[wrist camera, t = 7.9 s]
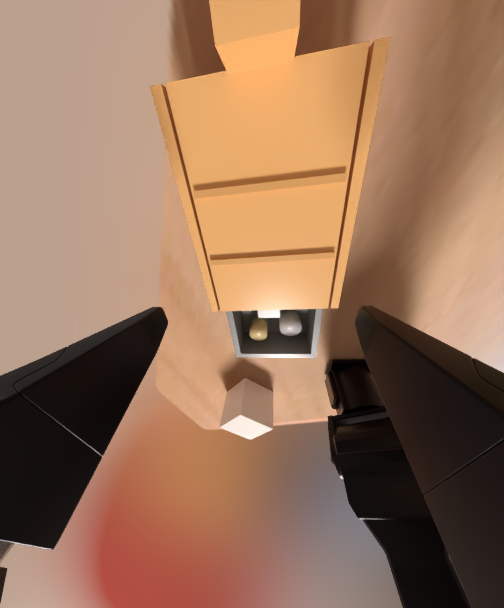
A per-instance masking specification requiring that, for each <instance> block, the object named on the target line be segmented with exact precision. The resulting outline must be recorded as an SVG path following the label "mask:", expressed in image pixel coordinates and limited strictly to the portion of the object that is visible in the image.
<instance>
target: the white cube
mask: <svg viewBox="0 0 504 608" xmlns="http://www.w3.org/2000/svg"><path fill="white" fill-rule="evenodd" d="M220 428H222V429H224V430H227V431H230V432H232V433H234V434H237V435H240V436H242V437H245V438H247V439H253V438H255V437H257V436H259V435H262V434H264V433H266V432H268V431H270V430H272V429H273V391H271V390H269V389H267V388H265V387H263V386H261V385H259V384H257V383H255V382H253V381H251V380H249V379H247V378H244V379H243V380H242V381H240V382H239V383H238V384H237V385H235V386H234V387H233V388H231V389H230V390H229V391H227V394H226V399H225V404H224V409H223V413H222V418H221V423H220Z"/></svg>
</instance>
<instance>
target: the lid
mask: <svg viewBox="0 0 504 608" xmlns="http://www.w3.org/2000/svg"><path fill="white" fill-rule="evenodd" d="M209 4H210V12H211V19H212V27H213V34H214V42H215V47H216V49H217V51H218V54H219V56H220V58H221V60H222V62H223V64H224V67H225V69H226V71H222V72H217V73H212V74H207V75H202V76H197V77H192V78H188V79H183V80H178V81H173V82H168V83H165V86H166V87H164V86H163V85H162V84H158V85H154V86H150V89H151V93H152V96H153V100H154V103H155V107H156V111H157V114H158V118H159V121H160V125H161V129H162V132H163V136H164V139H165V143H166V147H167V150H168V154H169V158H170V161H171V165H172V168H173V172H174V176H175V179H176V183H177V186H178V190H179V194H180V197H181V201H182V204H183V208H184V212H185V215H186V219H187V222H188V226H189V230H190V233H191V237H192V240H193V244H194V248H195V251H196V255H197V258H198V262H199V266H200V269H201V273H202V276H203V280H204V284H205V287H206V291H207V294H208V298H209V302H210V305H211V309H212V312H217V311H219V309H220V310H221V311H254V310H291V309H328V306H330V308H338V307H339V302H340V296H341V291H342V286H343V281H344V276H345V270H346V265H347V260H348V255H349V250H350V245H351V239H352V234H353V229H354V224H355V219H356V213H357V208H358V203H359V198H360V193H361V187H362V182H363V177H364V172H365V167H366V162H367V156H368V151H369V146H370V141H371V136H372V130H373V125H374V120H375V115H376V110H377V104H378V99H379V94H380V89H381V84H382V79H383V73H384V68H385V63H386V58H387V53H388V47H389V42H390V37H387V38H382V39H377V40H374V42H373V43H372V44H371V46H370V47H369V42H370V41H367V42H363V43H358V44H353V45H348V46H343V47H338V48H333V49H329V50H324V51H319V52H314V53H309V54H304V55H299V56H295V50H296V45H297V39H298V33H299V28H300V0H209Z"/></svg>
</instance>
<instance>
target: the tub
mask: <svg viewBox="0 0 504 608" xmlns="http://www.w3.org/2000/svg"><path fill="white" fill-rule="evenodd" d="M322 311H323V309H291V310H254V311H226V313H227V317H228V322H229V326H230V331H231V335H232V340H233V344H234V348H235V353H236V357H257V358H316V355H317V348H318V341H319V333H320V326H321V319H322Z"/></svg>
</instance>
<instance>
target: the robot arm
mask: <svg viewBox="0 0 504 608" xmlns="http://www.w3.org/2000/svg"><path fill="white" fill-rule="evenodd" d="M167 325H168V320H167V317H166V315H165V312H164V310H163V308H161V307H152V308H150V309H147V310H145V311H143V312H141V313H139V314H136V315H134V316H132V317H130V318H128V319H126V320H123V321H121V322H119V323H117V324H115V325H113V326H111V327H108V328H106V329H104V330H102V331H100V332H98V333H95V334H93V335H91V336H89V337H87V338H84V339H82V340H80V341H78V342H76V343H74V344H71V345H69V346H68V347H65V348H63V349H61V350H58V351H56V352H54V353H52V354H50V355H47V356H45V357H43V358H41V359H39V360H36V361H34V362H32V363H29V364H27V365H25V366H22V367H20V368H18V369H15V370H13V371H10V372H8V373H6V374H3V375H1V376H0V563H1V562H2V560H3V559H4V557H5V556H6V555H7V554H8V552H9V551H10V549H11V548H12V547H13V545H14V544H15V543H16V544H22V545H27V546H32V547H38V548H43V549H49V550H53V549H54V547H55V546H56V544H57V543H58V541H59V539H60V537H61V535H62V533H63V532H64V530H65V528H66V526H67V524H68V522H69V520H70V518H71V516H72V514H73V512H74V510H75V509H76V507H77V505H78V503H79V501H80V499H81V497H82V495H83V493H84V491H85V489H86V487H87V485H88V484H89V482H90V480H91V478H92V476H93V474H94V472H95V470H96V468H97V466H98V464H99V462H100V461H101V458H102V456H103V454H104V453H105V451H106V449H107V447H108V445H109V443H110V441H111V439H112V437H113V435H114V433H115V432H116V430H117V428H118V426H119V424H120V422H121V420H122V418H123V416H124V414H125V412H126V410H127V409H128V407H129V404H130V403H131V401H132V399H133V397H134V395H135V393H136V391H137V389H138V387H139V386H140V383H141V382H142V380H143V378H144V376H145V374H146V372H147V370H148V368H149V366H150V364H151V363H152V360H153V359H154V357H155V355H156V353H157V351H158V348H159V346H160V343H161V341H162V338H163V336H164V333H165V331H166V328H167ZM355 327H356V330H357V334H358V337H359V341H360V344H361V347H362V351H363V354H364V357H365V360H332V361H331V364H330V369H329V371H328V372H327V375H326V380H325V383H326V387H327V391H328V395H329V399H330V404H331V407H332V408H333V409H336V411H337V414H338V415H336V416H332V415H331V416H328V430H329V440H330V449H331V450H330V451H331V461H332V463H333V464H334V465H335V466H336V469H337V471H338V474H339V476H340V477H341V479H342V480H343V481H344V483H345V488H346V492H347V497H348V501H349V504H350V505H351V507H352V509H353V511H354V512H355V514H356V516H357V517H358V518H359V519H362V520H363V521H364V523H365V524H366V525H367V527H368V528H369V530H370V531H371V533H372V534H373V535H374V537H375V538H376V540H377V541H378V543H379V544H380V545H381V547H382V548H383V550H384V551H385V553H386V556H387V559H388V561H389V565H390V568H391V571H392V574H393V577H394V580H395V584H396V587H397V590H398V593H399V597H400V600H401V603H402V606H403V608H504V373H503V372H501V371H499V370H497V369H495V368H493V367H491V366H489V365H487V364H485V363H483V362H481V361H479V360H477V359H475V358H472V357H471V356H469V355H467V354H465V353H463V352H461V351H459V350H457V349H455V348H453V347H451V346H449V345H447V344H445V343H443V342H441V341H439V340H438V339H436V338H434V337H432V336H430V335H428V334H426V333H424V332H422V331H420V330H418V329H416V328H414V327H412V326H410V325H408V324H406V323H404V322H402V321H400V320H398V319H396V318H394V317H392V316H390V315H389V314H387V313H385V312H383V311H381V310H379V309H377V308H375V307H373V306H361V307H360V308H359V310H358V314H357V317H356V321H355ZM6 572H7V568H4V567H0V602H1V597H2V592H3V587H4V582H5V577H6Z"/></svg>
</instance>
